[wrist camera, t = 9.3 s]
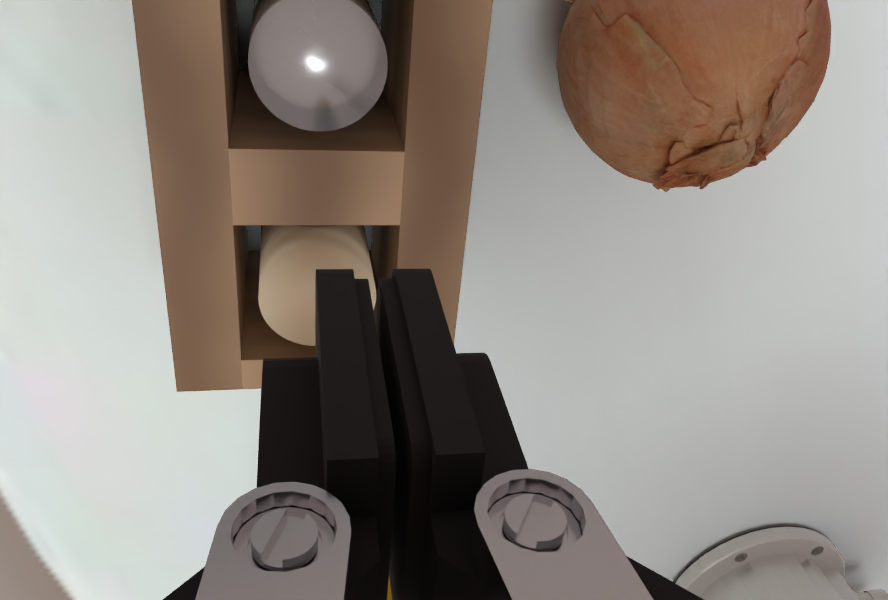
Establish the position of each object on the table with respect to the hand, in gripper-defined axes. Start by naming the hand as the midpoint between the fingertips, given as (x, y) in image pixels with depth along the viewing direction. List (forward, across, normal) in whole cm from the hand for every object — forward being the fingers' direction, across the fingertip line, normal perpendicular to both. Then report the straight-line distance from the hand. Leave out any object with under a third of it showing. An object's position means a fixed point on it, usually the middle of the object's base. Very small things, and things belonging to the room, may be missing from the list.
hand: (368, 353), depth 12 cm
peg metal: (+22, 0, 0) cm, 22 cm away
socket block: (+22, 0, +4) cm, 22 cm away
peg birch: (+22, 0, +8) cm, 23 cm away
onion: (+22, -13, 0) cm, 26 cm away
